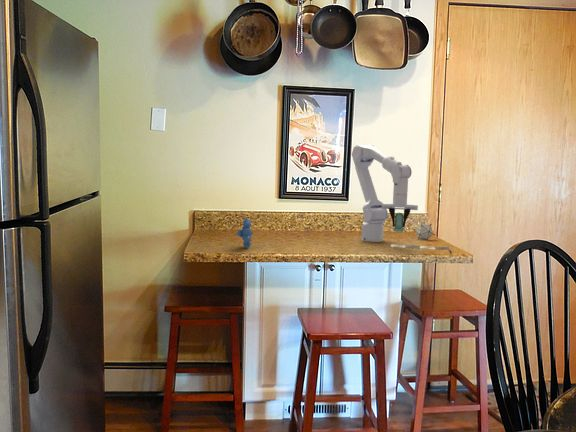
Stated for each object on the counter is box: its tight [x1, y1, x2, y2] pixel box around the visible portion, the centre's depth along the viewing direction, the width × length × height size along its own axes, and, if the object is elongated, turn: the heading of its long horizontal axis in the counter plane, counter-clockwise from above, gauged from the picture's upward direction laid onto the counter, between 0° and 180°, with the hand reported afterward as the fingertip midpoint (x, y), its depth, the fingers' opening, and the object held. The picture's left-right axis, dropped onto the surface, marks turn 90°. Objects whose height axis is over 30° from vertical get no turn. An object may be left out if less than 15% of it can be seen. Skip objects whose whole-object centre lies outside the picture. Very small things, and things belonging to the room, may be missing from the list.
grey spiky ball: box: [413, 222, 436, 241], centre depth 242 cm, size 9×8×10 cm
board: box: [390, 244, 452, 254], centre depth 221 cm, size 24×10×1 cm, turn 79°
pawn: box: [392, 212, 405, 232], centre depth 221 cm, size 5×5×8 cm
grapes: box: [236, 217, 254, 249], centre depth 218 cm, size 12×7×12 cm, turn 6°
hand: (398, 226), depth 222 cm, fingers closed on pawn, 3 cm apart
